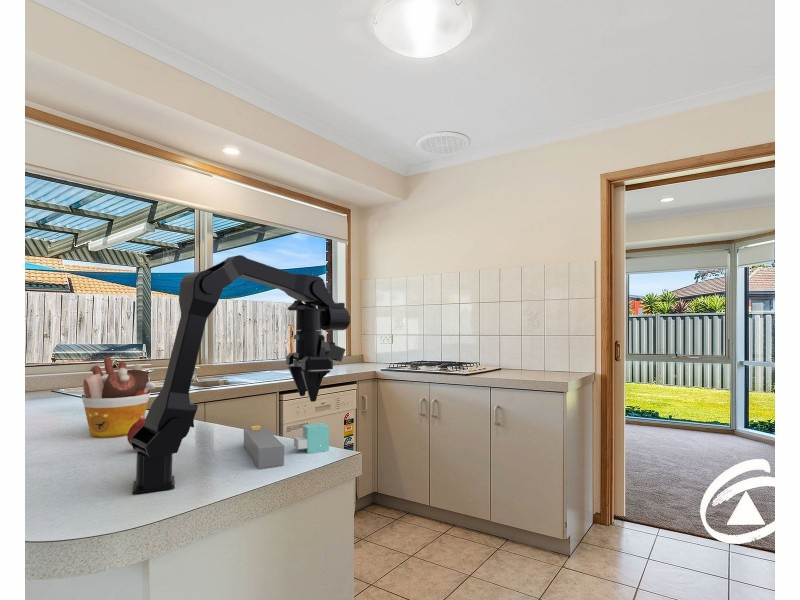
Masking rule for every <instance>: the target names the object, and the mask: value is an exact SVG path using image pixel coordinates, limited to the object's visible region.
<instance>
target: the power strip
mask: <svg viewBox="0 0 800 600" xmlns="http://www.w3.org/2000/svg"><path fill="white" fill-rule="evenodd" d="M243 448H244V449H245V450H246V451H247V454H248V455H249V456H250V459H252V461H253V463H254V464H255V466H256V467H257V470H258V469H259V470H263V469H268V468H269V469H270V468H274V467H275V468H276V467H282V466H283V467H284V466H285V445H284V444H283V443H282V442H281V441H280V440H279V439H278V438H277V437H276V436H275V435H274V434H273V433H272V432H271V431H270V429H268V427H266V426H263V427H262V426H261V425H252V426H250V428H249V427H248V428H243Z"/></svg>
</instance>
